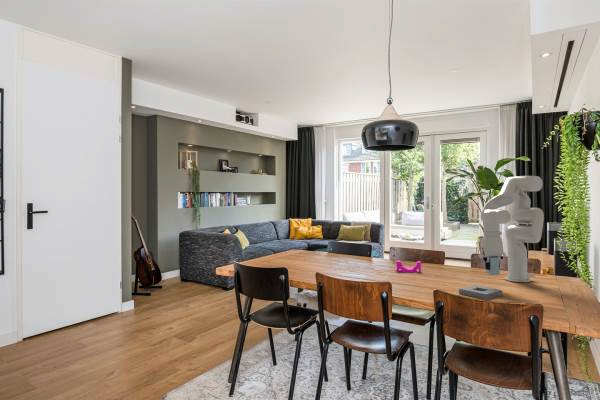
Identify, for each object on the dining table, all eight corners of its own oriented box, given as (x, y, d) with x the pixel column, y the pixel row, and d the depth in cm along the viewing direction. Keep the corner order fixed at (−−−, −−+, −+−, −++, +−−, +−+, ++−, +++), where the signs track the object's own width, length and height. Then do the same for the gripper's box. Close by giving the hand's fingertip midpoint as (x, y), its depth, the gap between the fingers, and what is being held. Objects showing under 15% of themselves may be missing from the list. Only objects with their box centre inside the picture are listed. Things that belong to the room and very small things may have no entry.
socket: (474, 289, 193) (474, 285, 193) (502, 295, 181) (502, 290, 181) (458, 293, 185) (458, 288, 185) (486, 299, 173) (486, 294, 173)
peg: (494, 273, 197) (494, 256, 197) (499, 274, 192) (499, 257, 192) (486, 273, 196) (485, 256, 196) (491, 275, 192) (490, 257, 192)
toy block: (396, 273, 238) (396, 262, 238) (396, 271, 244) (396, 260, 244) (421, 274, 235) (421, 262, 235) (420, 272, 241) (420, 261, 241)
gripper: (502, 233, 198) (503, 267, 199) (472, 234, 197) (473, 268, 197) (511, 234, 191) (512, 270, 191) (480, 236, 190) (481, 271, 190)
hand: (492, 268), depth 194 cm, fingers closed on peg, 4 cm apart
